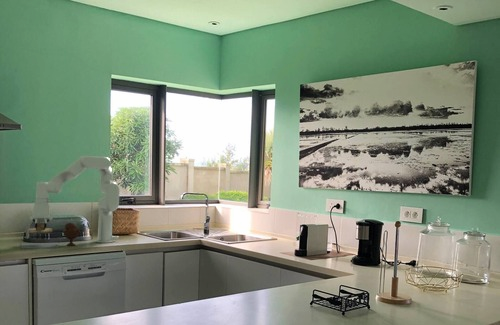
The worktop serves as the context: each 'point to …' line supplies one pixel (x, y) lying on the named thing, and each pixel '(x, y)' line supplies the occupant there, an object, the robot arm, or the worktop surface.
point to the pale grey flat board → (38, 245)
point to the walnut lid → (39, 228)
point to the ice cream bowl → (71, 233)
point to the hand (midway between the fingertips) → (40, 229)
